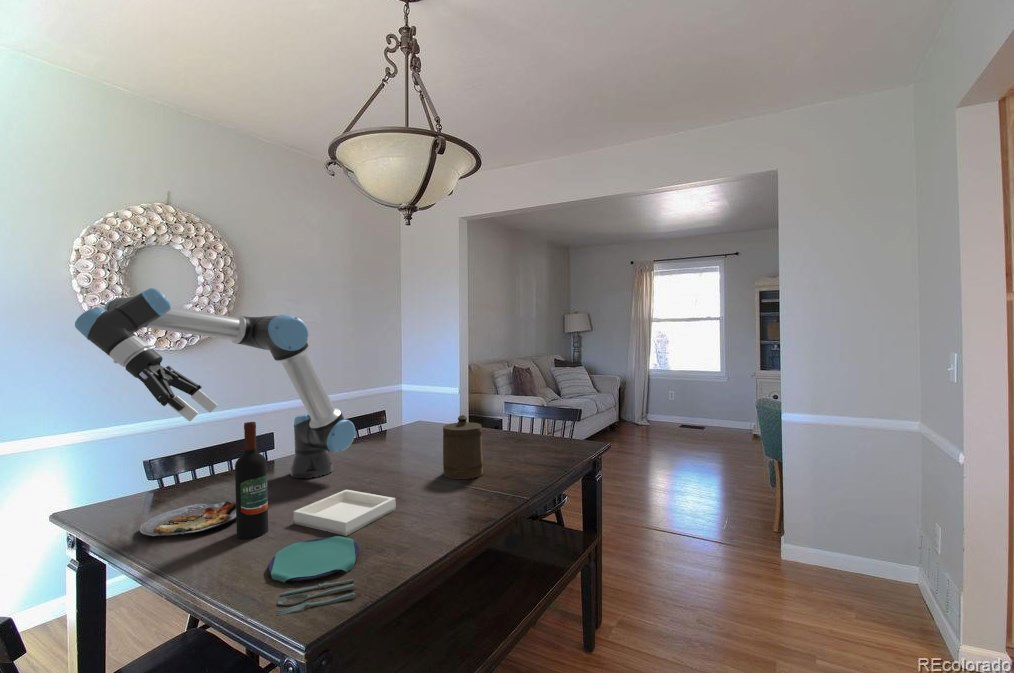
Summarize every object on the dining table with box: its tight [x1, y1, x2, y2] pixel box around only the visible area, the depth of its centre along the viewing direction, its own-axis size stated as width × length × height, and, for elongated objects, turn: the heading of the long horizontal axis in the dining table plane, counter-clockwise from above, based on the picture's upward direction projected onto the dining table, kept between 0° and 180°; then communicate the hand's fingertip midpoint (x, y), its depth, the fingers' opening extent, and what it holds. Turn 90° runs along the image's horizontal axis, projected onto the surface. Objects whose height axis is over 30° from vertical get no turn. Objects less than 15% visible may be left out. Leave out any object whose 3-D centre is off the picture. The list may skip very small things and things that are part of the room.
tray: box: [292, 489, 397, 537], centre depth 138 cm, size 20×20×4 cm
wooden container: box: [442, 414, 484, 480], centre depth 177 cm, size 15×15×22 cm
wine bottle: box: [234, 421, 269, 540], centre depth 127 cm, size 8×8×30 cm
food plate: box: [139, 500, 236, 537], centre depth 136 cm, size 25×23×4 cm
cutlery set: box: [268, 535, 361, 617], centre depth 106 cm, size 20×30×2 cm, turn 20°
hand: (204, 413), depth 125 cm, fingers open, 13 cm apart
